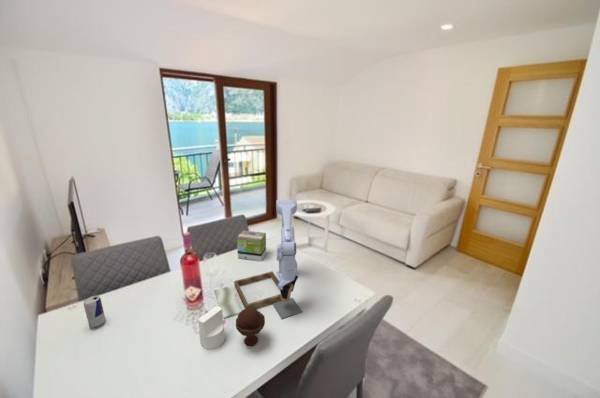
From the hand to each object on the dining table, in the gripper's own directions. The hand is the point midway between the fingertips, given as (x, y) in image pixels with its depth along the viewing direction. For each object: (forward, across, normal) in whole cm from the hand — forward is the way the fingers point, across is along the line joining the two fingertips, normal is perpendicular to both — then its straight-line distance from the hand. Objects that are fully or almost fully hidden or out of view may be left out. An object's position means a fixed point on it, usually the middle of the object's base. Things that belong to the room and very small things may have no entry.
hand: (287, 294), depth 116 cm
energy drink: (+8, +43, -64) cm, 78 cm away
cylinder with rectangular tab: (+8, +28, -18) cm, 34 cm away
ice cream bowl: (+8, +22, -4) cm, 24 cm away
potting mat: (+8, 0, 0) cm, 8 cm away
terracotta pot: (+2, 0, -1) cm, 3 cm away
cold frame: (+8, 0, -20) cm, 21 cm away
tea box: (+8, -31, -40) cm, 52 cm away
